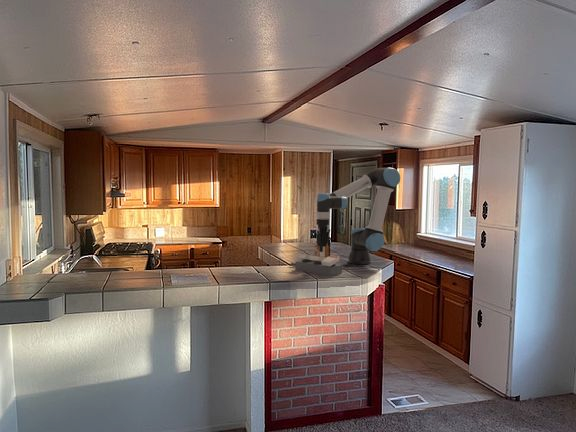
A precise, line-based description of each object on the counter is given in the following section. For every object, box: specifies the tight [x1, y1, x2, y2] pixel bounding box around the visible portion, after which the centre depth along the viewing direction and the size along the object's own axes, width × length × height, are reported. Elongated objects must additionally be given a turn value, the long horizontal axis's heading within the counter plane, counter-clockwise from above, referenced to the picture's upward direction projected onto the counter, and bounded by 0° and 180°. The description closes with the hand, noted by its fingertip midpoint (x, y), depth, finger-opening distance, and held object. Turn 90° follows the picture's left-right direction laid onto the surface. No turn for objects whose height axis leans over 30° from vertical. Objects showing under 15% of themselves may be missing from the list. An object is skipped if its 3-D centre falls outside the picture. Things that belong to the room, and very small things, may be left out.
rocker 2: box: [309, 254, 327, 261], centre depth 270 cm, size 10×6×3 cm, turn 140°
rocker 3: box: [321, 254, 341, 266], centre depth 264 cm, size 10×6×3 cm, turn 139°
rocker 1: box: [297, 252, 315, 260], centre depth 276 cm, size 10×6×3 cm, turn 140°
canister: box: [314, 236, 332, 261], centre depth 288 cm, size 9×11×20 cm
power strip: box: [290, 258, 343, 277], centre depth 273 cm, size 11×35×6 cm, turn 49°
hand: (322, 256), depth 273 cm, fingers closed
